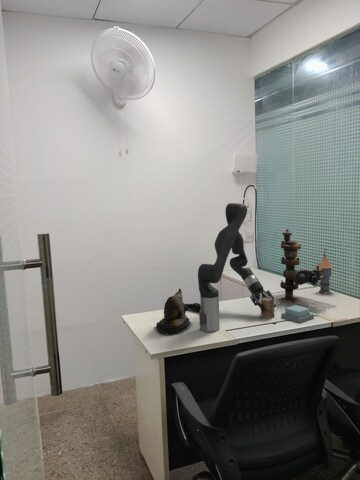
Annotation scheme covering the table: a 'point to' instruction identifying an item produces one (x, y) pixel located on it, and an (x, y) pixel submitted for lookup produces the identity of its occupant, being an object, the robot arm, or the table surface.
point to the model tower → (325, 274)
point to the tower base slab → (297, 319)
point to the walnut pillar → (268, 308)
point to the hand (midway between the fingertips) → (269, 309)
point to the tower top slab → (297, 311)
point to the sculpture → (174, 316)
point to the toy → (194, 306)
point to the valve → (297, 278)
